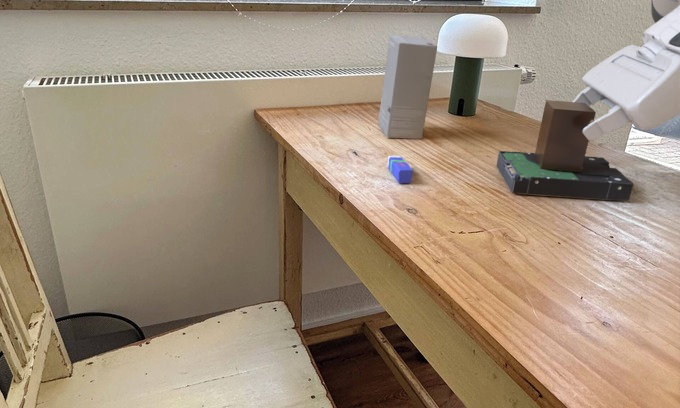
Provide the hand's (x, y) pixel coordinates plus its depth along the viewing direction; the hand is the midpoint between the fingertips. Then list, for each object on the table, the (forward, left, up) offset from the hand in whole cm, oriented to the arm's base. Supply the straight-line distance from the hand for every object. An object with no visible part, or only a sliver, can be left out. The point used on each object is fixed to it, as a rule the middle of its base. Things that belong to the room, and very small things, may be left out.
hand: (574, 125), depth 66 cm
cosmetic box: (+18, -23, -8) cm, 31 cm away
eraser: (+22, -2, -8) cm, 24 cm away
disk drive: (0, 0, -8) cm, 9 cm away
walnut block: (+1, -1, -6) cm, 6 cm away
